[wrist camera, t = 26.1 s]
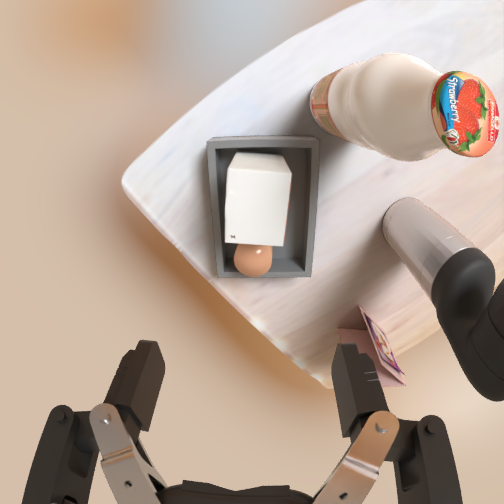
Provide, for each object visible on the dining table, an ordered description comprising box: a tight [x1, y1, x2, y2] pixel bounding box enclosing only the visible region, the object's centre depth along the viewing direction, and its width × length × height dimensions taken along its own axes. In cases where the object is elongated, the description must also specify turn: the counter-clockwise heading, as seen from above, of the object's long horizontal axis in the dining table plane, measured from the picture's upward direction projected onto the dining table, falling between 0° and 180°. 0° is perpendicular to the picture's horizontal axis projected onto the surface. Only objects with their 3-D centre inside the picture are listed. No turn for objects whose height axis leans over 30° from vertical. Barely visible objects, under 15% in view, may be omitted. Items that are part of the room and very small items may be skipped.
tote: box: [207, 136, 320, 278], centre depth 40 cm, size 14×20×5 cm
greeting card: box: [337, 304, 406, 387], centre depth 47 cm, size 11×7×15 cm, turn 46°
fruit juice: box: [310, 53, 499, 161], centre depth 22 cm, size 9×9×28 cm
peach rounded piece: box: [234, 243, 273, 277], centre depth 40 cm, size 5×5×7 cm
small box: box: [225, 150, 292, 246], centre depth 33 cm, size 8×6×13 cm
